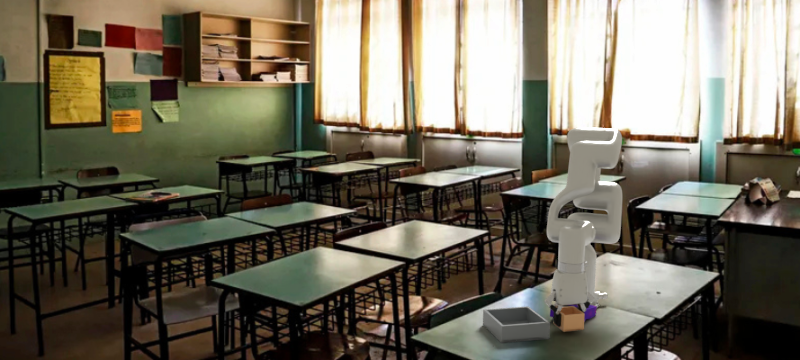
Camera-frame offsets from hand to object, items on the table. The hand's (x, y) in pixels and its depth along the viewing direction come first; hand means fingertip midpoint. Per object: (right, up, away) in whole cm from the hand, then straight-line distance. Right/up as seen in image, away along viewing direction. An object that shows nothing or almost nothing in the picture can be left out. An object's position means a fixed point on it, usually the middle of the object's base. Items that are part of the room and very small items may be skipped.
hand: (568, 323), depth 203 cm
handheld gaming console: (+5, -2, +14) cm, 15 cm away
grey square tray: (-16, -3, 0) cm, 16 cm away
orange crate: (0, -1, 0) cm, 1 cm away
